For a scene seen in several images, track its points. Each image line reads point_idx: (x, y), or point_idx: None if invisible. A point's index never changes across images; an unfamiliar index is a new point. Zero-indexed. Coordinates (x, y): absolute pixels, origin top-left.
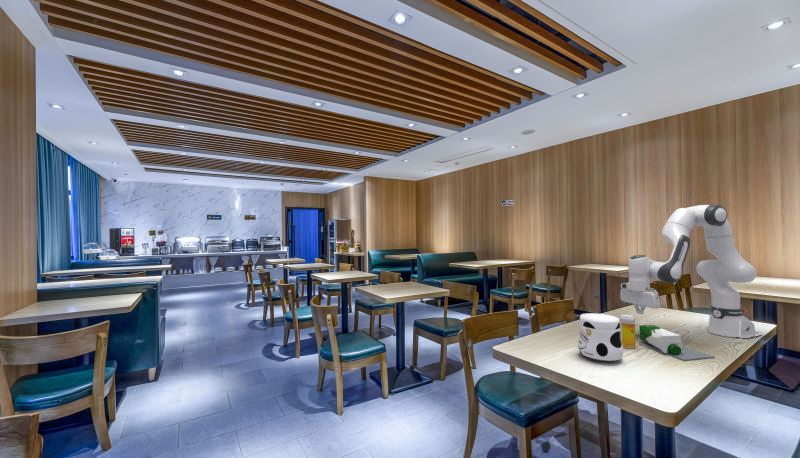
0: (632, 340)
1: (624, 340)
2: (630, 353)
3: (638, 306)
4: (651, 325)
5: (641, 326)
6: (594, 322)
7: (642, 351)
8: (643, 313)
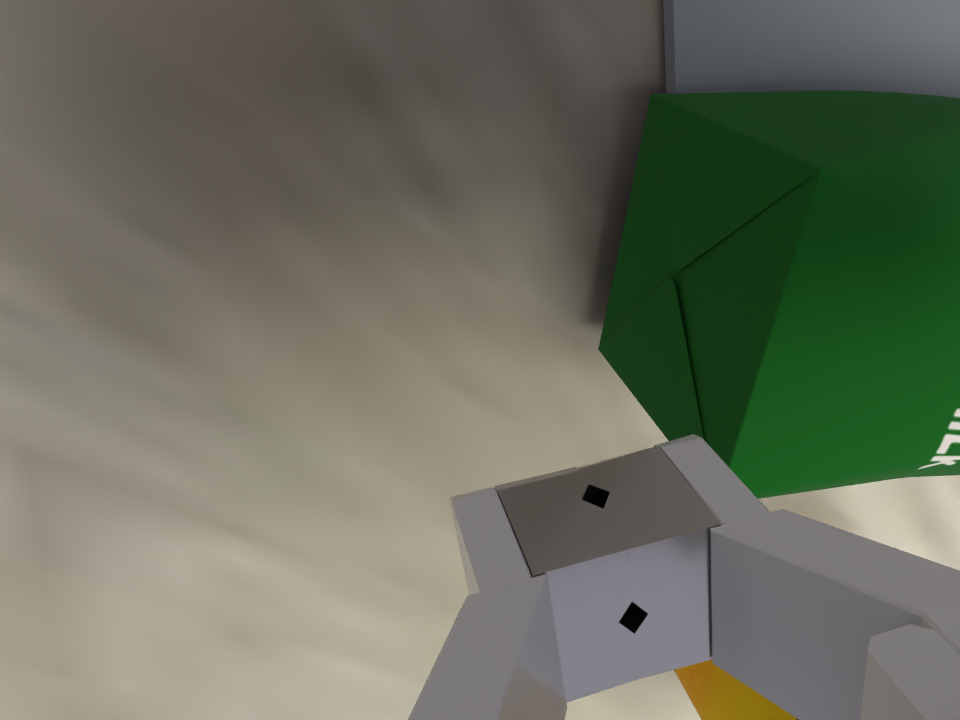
0: None
1: None
2: None
3: (493, 711)
4: (900, 316)
5: (782, 494)
6: None
7: (886, 507)
8: (699, 439)
